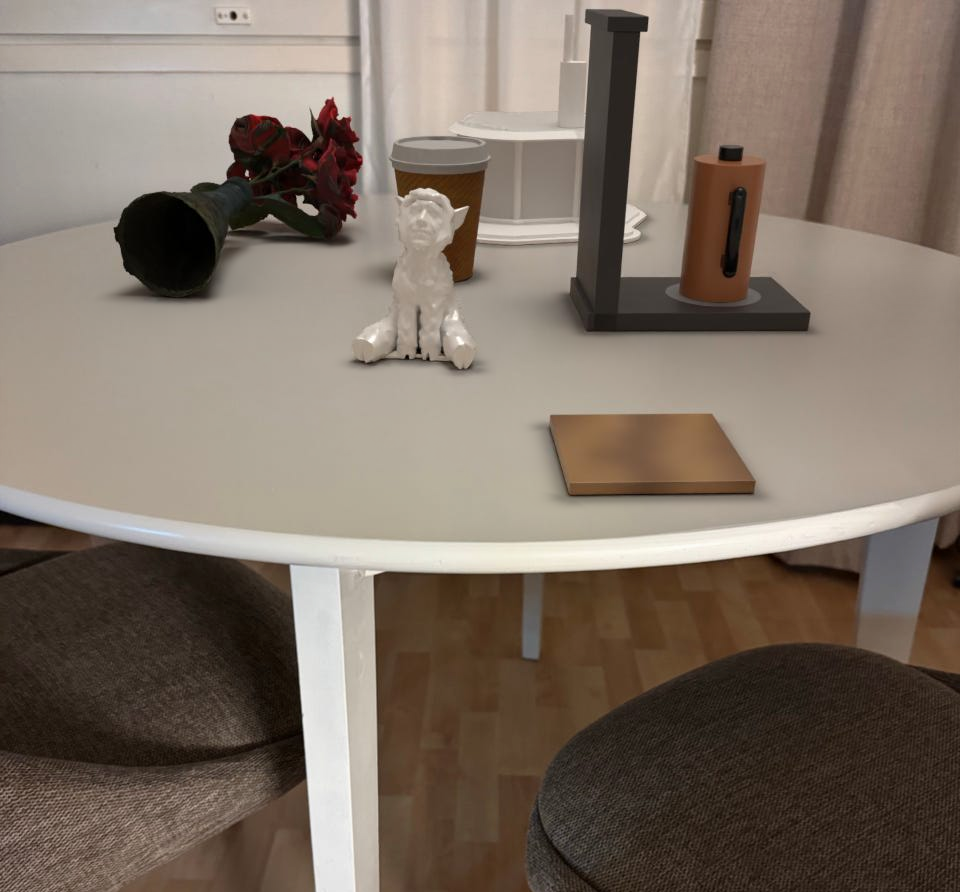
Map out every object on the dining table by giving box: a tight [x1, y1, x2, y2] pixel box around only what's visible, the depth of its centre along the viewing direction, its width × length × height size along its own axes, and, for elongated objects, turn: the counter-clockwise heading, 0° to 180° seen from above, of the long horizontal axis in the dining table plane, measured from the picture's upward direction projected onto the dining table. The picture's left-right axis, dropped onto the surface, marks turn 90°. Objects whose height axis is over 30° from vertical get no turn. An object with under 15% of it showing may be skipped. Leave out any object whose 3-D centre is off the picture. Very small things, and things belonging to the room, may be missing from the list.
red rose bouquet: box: [113, 96, 364, 299], centre depth 108 cm, size 16×18×35 cm
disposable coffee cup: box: [388, 135, 491, 282], centre depth 102 cm, size 10×10×12 cm
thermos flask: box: [679, 144, 768, 303], centre depth 90 cm, size 6×8×12 cm
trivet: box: [548, 413, 757, 496], centre depth 67 cm, size 11×11×1 cm
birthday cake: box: [447, 13, 647, 246], centre depth 122 cm, size 30×29×22 cm
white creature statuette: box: [351, 188, 477, 370], centre depth 82 cm, size 10×9×12 cm
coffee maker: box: [569, 8, 812, 332], centre depth 89 cm, size 19×12×23 cm, turn 93°
